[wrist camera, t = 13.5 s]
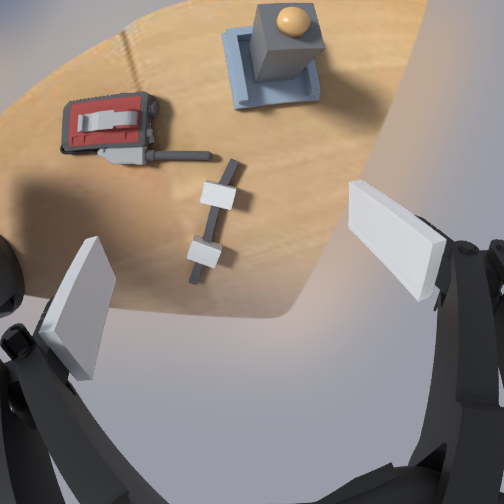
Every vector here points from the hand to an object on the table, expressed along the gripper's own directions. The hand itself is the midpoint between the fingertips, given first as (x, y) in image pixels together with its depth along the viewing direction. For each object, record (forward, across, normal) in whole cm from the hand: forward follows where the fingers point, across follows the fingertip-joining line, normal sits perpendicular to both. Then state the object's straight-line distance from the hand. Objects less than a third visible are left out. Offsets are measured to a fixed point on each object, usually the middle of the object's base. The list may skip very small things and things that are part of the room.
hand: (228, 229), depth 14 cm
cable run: (+20, -1, -9) cm, 22 cm away
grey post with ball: (+21, +9, +9) cm, 25 cm away
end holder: (+22, +9, +9) cm, 26 cm away
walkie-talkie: (+24, -8, +4) cm, 25 cm away
